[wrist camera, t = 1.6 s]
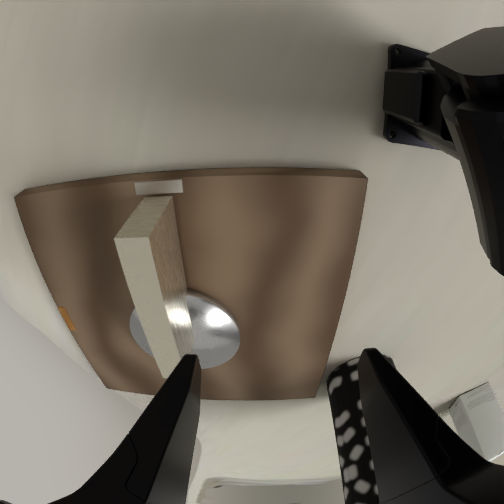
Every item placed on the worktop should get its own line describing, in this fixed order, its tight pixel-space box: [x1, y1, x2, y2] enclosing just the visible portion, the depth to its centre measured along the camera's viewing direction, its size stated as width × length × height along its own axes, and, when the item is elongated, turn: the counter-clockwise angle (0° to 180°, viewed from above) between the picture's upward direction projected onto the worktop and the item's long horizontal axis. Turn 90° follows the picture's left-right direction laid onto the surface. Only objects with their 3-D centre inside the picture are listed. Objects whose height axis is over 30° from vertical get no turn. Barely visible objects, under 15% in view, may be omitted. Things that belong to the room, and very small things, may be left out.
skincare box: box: [449, 382, 504, 462], centre depth 33 cm, size 8×7×16 cm
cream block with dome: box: [114, 196, 240, 378], centre depth 19 cm, size 16×9×5 cm, turn 1°
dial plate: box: [14, 168, 368, 400], centre depth 24 cm, size 25×25×2 cm
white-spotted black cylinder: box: [327, 355, 396, 504], centre depth 22 cm, size 8×8×20 cm
